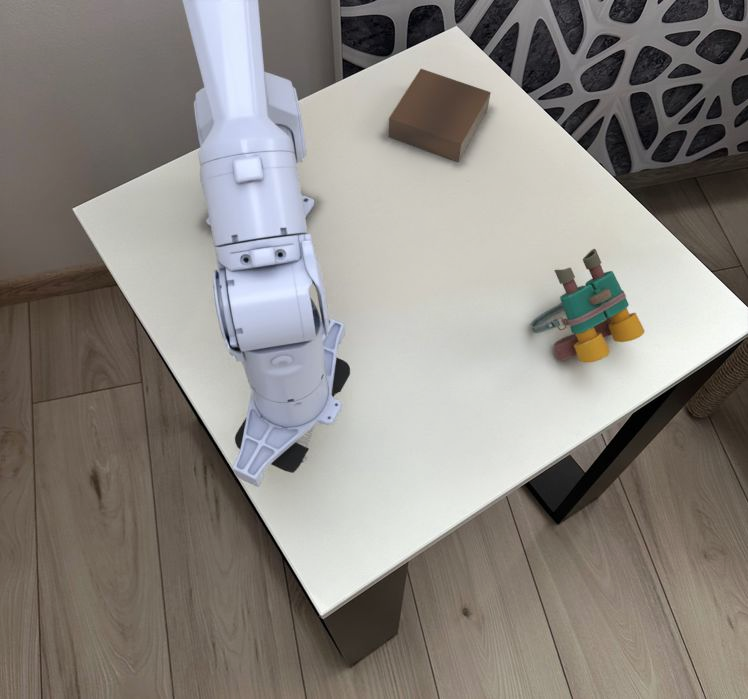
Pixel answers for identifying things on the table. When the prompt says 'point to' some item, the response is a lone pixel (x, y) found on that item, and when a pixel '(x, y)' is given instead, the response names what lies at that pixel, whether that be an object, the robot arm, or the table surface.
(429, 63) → the table surface
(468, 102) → the brown square tile
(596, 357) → the binoculars
